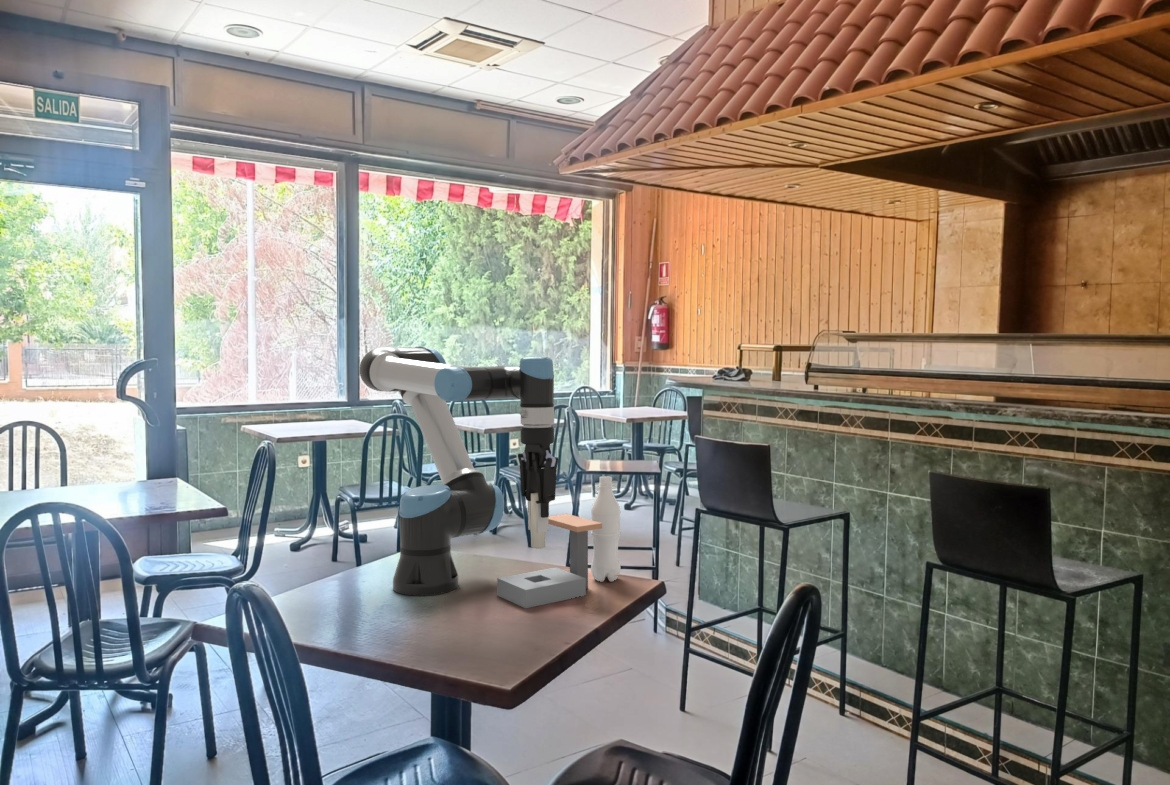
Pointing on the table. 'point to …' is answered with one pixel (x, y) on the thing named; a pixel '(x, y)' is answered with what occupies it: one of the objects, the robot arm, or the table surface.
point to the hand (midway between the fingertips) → (538, 530)
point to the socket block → (541, 587)
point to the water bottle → (605, 533)
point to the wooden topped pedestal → (576, 540)
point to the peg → (535, 526)
